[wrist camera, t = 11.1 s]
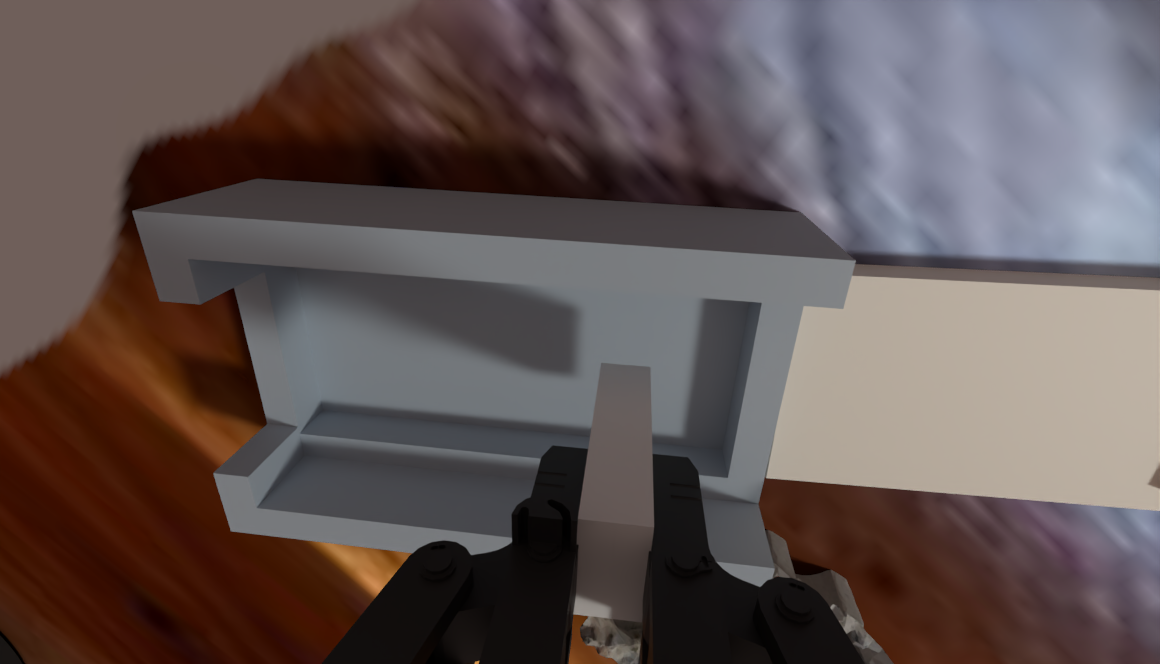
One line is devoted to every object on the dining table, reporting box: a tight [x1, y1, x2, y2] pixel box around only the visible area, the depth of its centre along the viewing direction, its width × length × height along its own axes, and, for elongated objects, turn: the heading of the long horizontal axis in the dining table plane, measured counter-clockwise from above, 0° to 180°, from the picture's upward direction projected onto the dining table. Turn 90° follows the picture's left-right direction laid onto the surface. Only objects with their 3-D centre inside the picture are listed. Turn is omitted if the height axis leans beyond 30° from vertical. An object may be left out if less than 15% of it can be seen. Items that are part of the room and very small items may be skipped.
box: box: [132, 179, 856, 587], centre depth 18 cm, size 18×11×5 cm, turn 88°
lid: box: [765, 264, 1160, 511], centre depth 18 cm, size 16×8×2 cm, turn 89°
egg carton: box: [580, 530, 893, 664], centre depth 22 cm, size 11×8×4 cm
